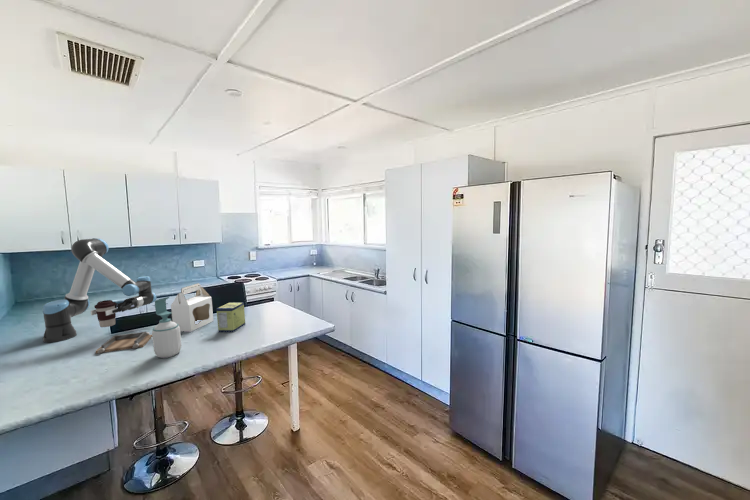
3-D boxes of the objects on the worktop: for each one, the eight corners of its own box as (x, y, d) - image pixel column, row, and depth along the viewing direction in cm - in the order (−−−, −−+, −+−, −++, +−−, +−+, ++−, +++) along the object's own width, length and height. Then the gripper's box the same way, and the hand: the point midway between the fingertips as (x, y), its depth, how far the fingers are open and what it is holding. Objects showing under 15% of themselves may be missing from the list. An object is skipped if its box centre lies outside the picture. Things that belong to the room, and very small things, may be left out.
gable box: (190, 332, 206) (186, 289, 203) (172, 331, 208) (168, 289, 205) (213, 320, 228) (210, 282, 225) (197, 320, 230) (193, 282, 227)
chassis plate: (94, 355, 174) (93, 347, 174) (110, 341, 194) (110, 335, 193) (141, 348, 181) (141, 341, 181) (153, 335, 201) (152, 329, 201)
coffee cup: (94, 329, 188) (91, 304, 186) (99, 324, 197) (96, 300, 195) (116, 326, 193) (113, 301, 191) (120, 321, 201) (117, 298, 200)
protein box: (245, 324, 217) (244, 302, 216) (233, 332, 202) (231, 308, 200) (231, 324, 219) (229, 302, 217) (217, 332, 203) (215, 308, 202)
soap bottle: (161, 361, 163) (155, 301, 160) (150, 356, 170) (143, 298, 166) (186, 352, 174) (181, 296, 170) (174, 348, 180) (169, 293, 177)
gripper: (148, 308, 210) (115, 319, 188) (119, 308, 214) (83, 319, 192) (147, 297, 209) (114, 307, 187) (118, 297, 213) (82, 306, 191)
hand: (98, 313), depth 189 cm, fingers closed on coffee cup, 10 cm apart
